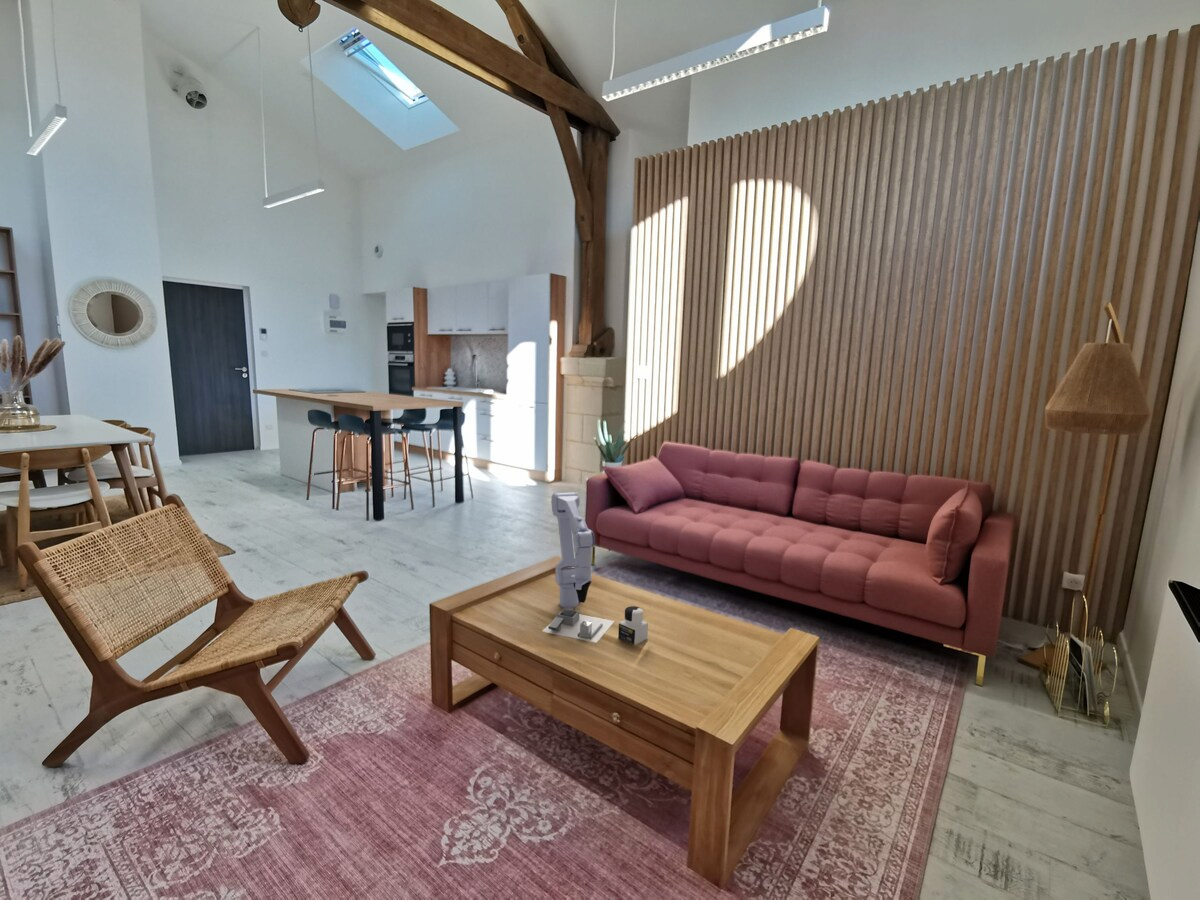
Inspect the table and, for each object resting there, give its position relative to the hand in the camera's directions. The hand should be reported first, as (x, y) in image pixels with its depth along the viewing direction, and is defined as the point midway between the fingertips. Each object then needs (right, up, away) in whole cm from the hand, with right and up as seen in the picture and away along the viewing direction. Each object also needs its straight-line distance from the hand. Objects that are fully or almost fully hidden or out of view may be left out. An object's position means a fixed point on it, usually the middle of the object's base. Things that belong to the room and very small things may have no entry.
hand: (582, 601), depth 207 cm
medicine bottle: (+17, -11, -10) cm, 23 cm away
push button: (-5, -7, +1) cm, 8 cm away
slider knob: (+2, -9, -10) cm, 14 cm away
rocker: (-9, -6, -6) cm, 12 cm away
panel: (-1, -9, -2) cm, 10 cm away
